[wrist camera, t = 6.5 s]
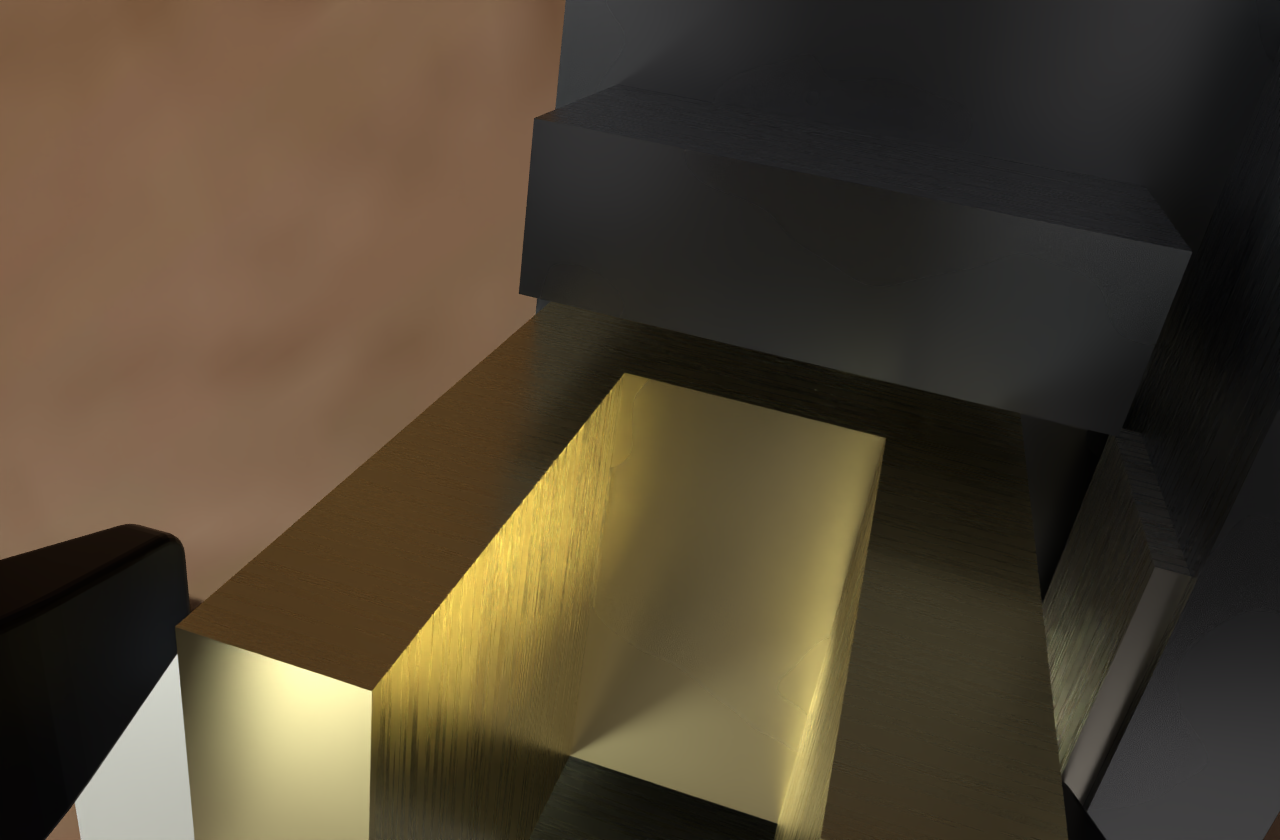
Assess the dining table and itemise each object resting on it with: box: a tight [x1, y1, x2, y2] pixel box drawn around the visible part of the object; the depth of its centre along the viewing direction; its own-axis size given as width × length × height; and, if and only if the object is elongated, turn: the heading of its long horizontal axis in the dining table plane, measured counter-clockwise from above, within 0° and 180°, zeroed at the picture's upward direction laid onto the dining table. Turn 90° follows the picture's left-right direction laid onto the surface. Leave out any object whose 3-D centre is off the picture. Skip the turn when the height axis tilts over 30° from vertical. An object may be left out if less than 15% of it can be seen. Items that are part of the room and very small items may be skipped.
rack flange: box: [519, 0, 1280, 840], centre depth 11 cm, size 20×6×4 cm, turn 172°
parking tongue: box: [75, 654, 195, 840], centre depth 17 cm, size 8×6×1 cm
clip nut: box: [175, 301, 1068, 840], centre depth 7 cm, size 4×4×5 cm
